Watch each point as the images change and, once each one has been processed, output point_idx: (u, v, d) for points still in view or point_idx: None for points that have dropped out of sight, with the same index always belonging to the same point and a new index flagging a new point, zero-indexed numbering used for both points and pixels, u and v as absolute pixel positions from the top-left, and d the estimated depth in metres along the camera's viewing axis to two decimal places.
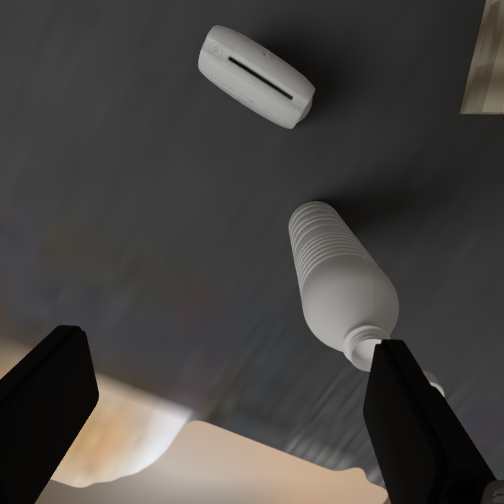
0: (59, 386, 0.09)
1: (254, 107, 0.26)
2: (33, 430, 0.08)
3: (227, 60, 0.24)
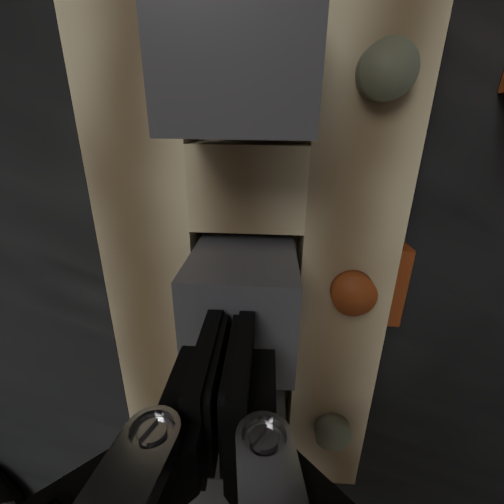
0: (223, 362, 0.10)
1: None
2: (218, 399, 0.09)
3: None
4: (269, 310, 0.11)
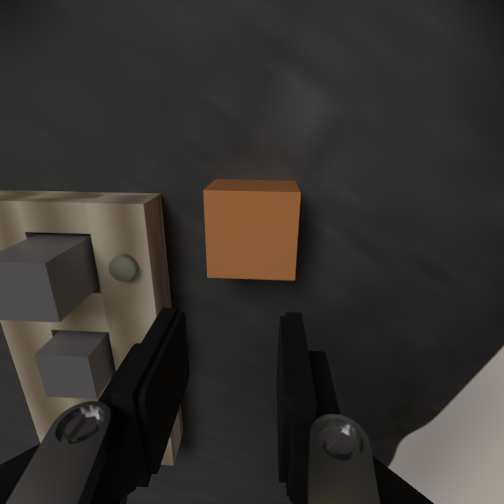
0: (173, 360, 0.10)
1: None
2: (162, 396, 0.09)
3: None
4: (76, 365, 0.25)
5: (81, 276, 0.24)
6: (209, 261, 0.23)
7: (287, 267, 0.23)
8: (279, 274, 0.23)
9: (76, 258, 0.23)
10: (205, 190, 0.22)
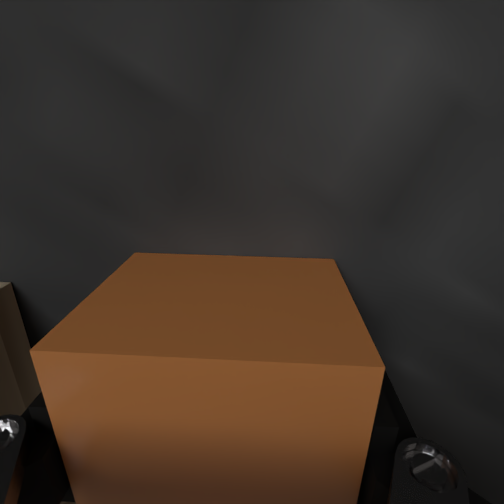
0: None
1: None
2: None
3: None
4: None
5: None
6: None
7: None
8: None
9: None
10: (39, 348, 0.06)
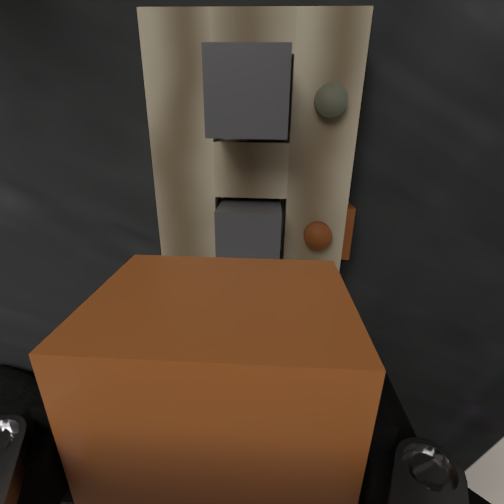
0: None
1: None
2: None
3: None
4: (264, 227, 0.21)
5: None
6: None
7: None
8: None
9: None
10: (38, 352, 0.06)
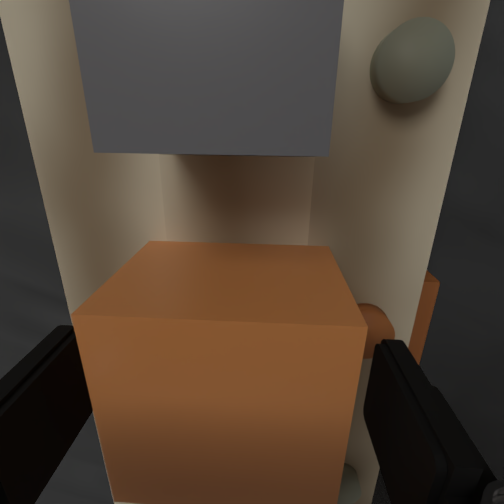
0: (59, 386, 0.09)
1: None
2: (33, 430, 0.08)
3: None
4: None
5: None
6: (114, 472, 0.09)
7: (317, 492, 0.09)
8: (295, 503, 0.09)
9: None
10: (78, 313, 0.07)
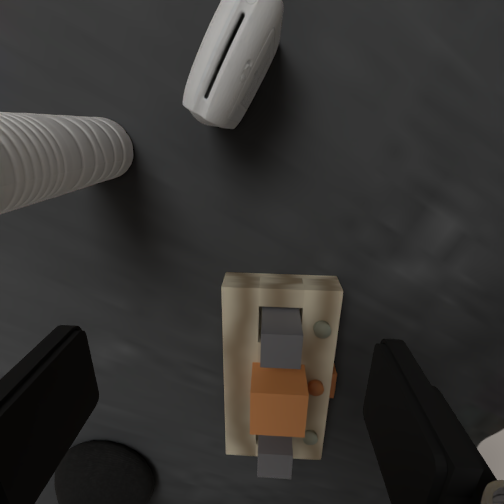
0: (59, 386, 0.09)
1: None
2: (33, 430, 0.08)
3: (240, 10, 0.20)
4: None
5: None
6: (251, 426, 0.38)
7: (300, 431, 0.38)
8: (294, 434, 0.38)
9: None
10: (251, 392, 0.36)
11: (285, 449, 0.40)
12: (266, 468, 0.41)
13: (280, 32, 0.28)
